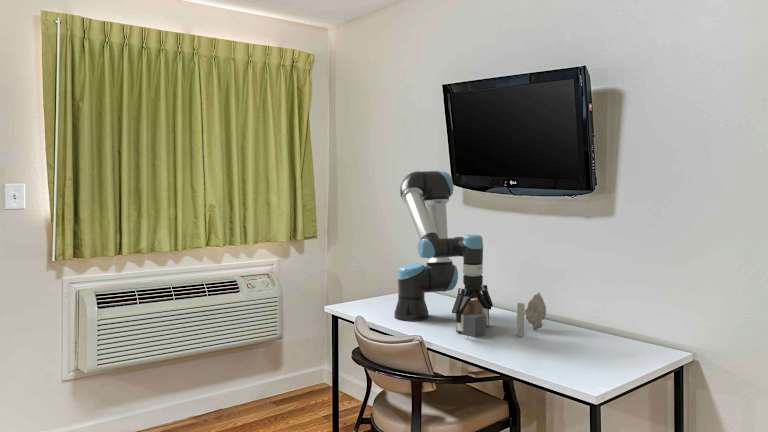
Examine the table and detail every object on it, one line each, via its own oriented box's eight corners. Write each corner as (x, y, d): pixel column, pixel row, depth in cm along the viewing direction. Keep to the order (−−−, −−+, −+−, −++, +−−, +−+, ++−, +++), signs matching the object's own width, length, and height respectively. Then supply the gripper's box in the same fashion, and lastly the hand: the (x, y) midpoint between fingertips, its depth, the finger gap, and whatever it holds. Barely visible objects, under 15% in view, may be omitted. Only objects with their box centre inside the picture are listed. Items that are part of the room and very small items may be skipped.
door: (480, 325, 246) (480, 297, 245) (484, 326, 244) (484, 298, 243) (454, 331, 237) (454, 302, 236) (458, 332, 235) (458, 303, 234)
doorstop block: (462, 334, 235) (462, 314, 234) (470, 331, 238) (471, 312, 237) (474, 337, 229) (474, 317, 229) (483, 335, 232) (483, 315, 232)
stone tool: (529, 332, 235) (529, 295, 234) (522, 330, 239) (523, 294, 237) (549, 329, 241) (550, 292, 240) (543, 327, 244) (543, 291, 243)
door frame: (473, 323, 250) (474, 293, 249) (477, 323, 251) (477, 292, 250) (521, 337, 229) (521, 304, 228) (524, 336, 231) (525, 303, 230)
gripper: (456, 279, 221) (456, 335, 223) (502, 272, 236) (501, 324, 238) (442, 276, 227) (442, 331, 229) (488, 269, 242) (487, 320, 244)
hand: (472, 327), depth 233 cm, fingers open, 13 cm apart
